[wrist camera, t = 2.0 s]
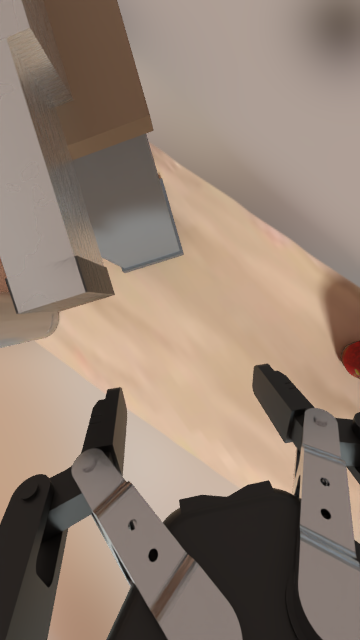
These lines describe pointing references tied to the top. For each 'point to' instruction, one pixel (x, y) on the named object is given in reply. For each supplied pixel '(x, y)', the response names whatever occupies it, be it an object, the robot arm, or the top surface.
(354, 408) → the top surface
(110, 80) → the stand
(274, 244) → the top surface
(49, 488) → the robot arm
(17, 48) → the grey rectangular bar
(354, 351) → the soda can
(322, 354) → the top surface
